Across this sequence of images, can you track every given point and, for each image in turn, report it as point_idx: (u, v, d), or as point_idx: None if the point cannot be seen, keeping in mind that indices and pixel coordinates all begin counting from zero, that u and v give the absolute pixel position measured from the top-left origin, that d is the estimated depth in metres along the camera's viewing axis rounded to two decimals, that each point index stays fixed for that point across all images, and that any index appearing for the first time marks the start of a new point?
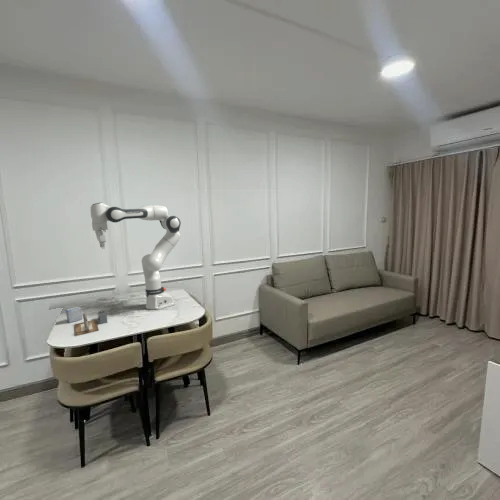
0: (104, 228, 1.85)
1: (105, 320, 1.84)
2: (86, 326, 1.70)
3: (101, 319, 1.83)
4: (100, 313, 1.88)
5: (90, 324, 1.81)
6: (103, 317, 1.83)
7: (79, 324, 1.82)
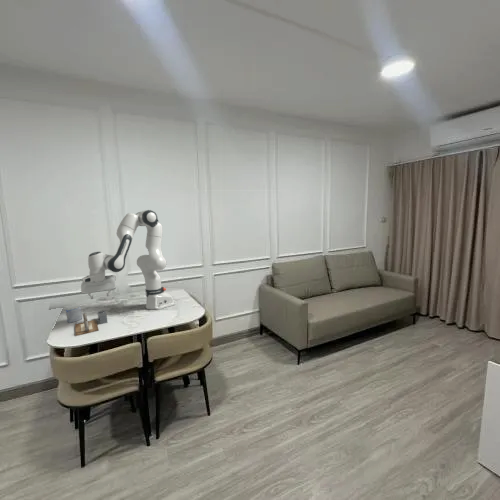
0: None
1: (105, 320, 1.84)
2: (86, 326, 1.70)
3: (101, 319, 1.83)
4: (100, 313, 1.88)
5: (90, 324, 1.81)
6: (103, 317, 1.83)
7: (79, 324, 1.82)
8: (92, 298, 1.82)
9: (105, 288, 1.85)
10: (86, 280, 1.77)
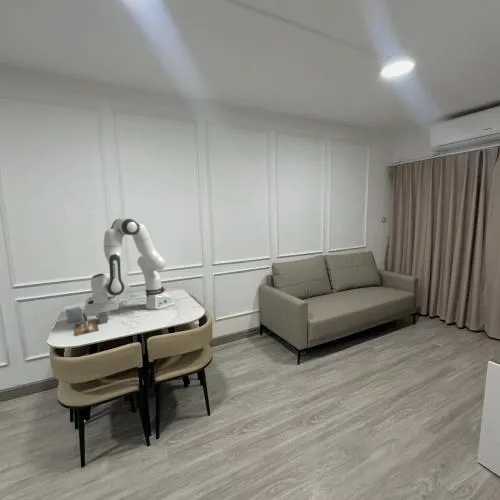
0: None
1: (105, 320, 1.84)
2: (86, 326, 1.70)
3: (101, 319, 1.83)
4: (100, 313, 1.88)
5: (90, 324, 1.81)
6: (103, 317, 1.83)
7: (79, 324, 1.82)
8: None
9: (108, 309, 1.87)
10: (89, 302, 1.79)
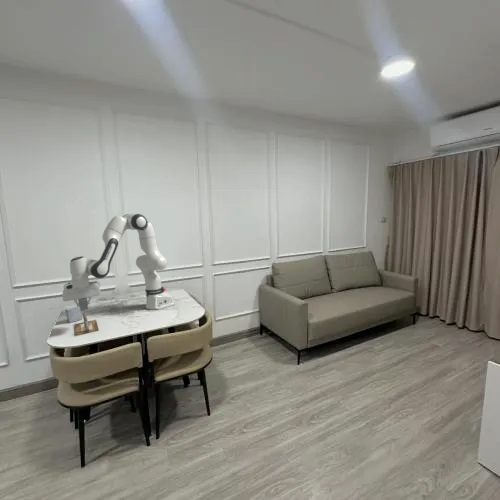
0: None
1: (85, 306, 1.71)
2: (86, 326, 1.70)
3: (81, 305, 1.70)
4: (80, 299, 1.75)
5: (90, 324, 1.81)
6: (83, 303, 1.70)
7: (79, 324, 1.82)
8: (78, 305, 1.72)
9: (89, 295, 1.74)
10: (67, 287, 1.66)
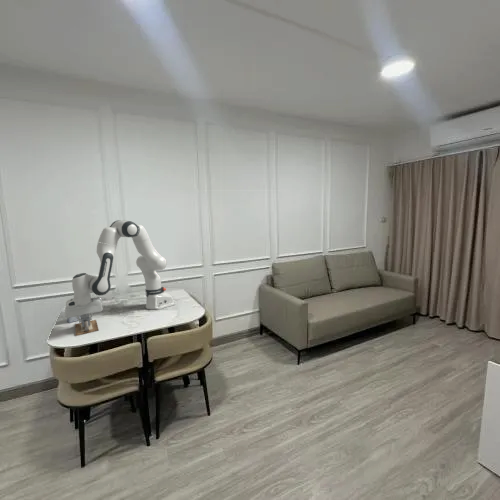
0: None
1: None
2: (86, 326, 1.70)
3: (83, 322, 1.71)
4: (82, 315, 1.76)
5: (90, 324, 1.81)
6: (85, 319, 1.72)
7: (79, 324, 1.82)
8: (81, 321, 1.74)
9: (91, 311, 1.75)
10: (70, 304, 1.68)
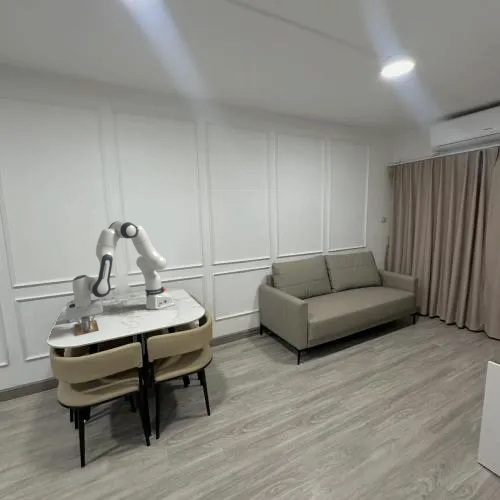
0: None
1: None
2: (86, 326, 1.70)
3: None
4: (83, 319, 1.77)
5: (90, 324, 1.81)
6: None
7: None
8: (79, 323, 1.74)
9: (91, 313, 1.76)
10: (70, 306, 1.68)
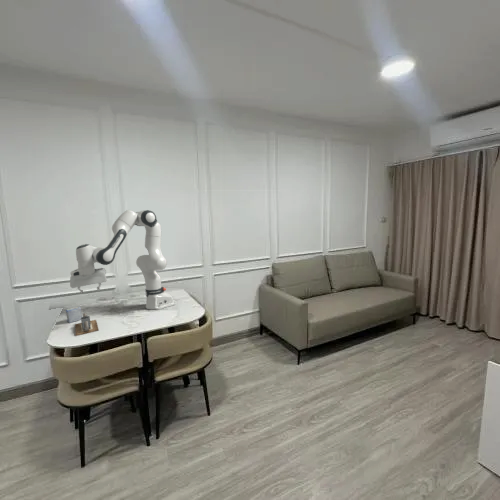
0: None
1: None
2: (86, 326, 1.70)
3: None
4: (83, 319, 1.77)
5: (90, 324, 1.81)
6: None
7: (79, 324, 1.82)
8: (82, 292, 1.77)
9: (95, 282, 1.79)
10: (75, 274, 1.71)
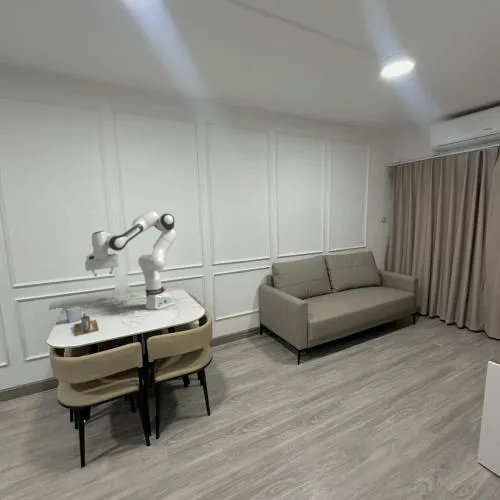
0: None
1: None
2: (86, 326, 1.70)
3: None
4: (83, 319, 1.77)
5: (90, 324, 1.81)
6: None
7: (79, 324, 1.82)
8: (96, 275, 1.90)
9: (108, 266, 1.93)
10: (90, 257, 1.85)
